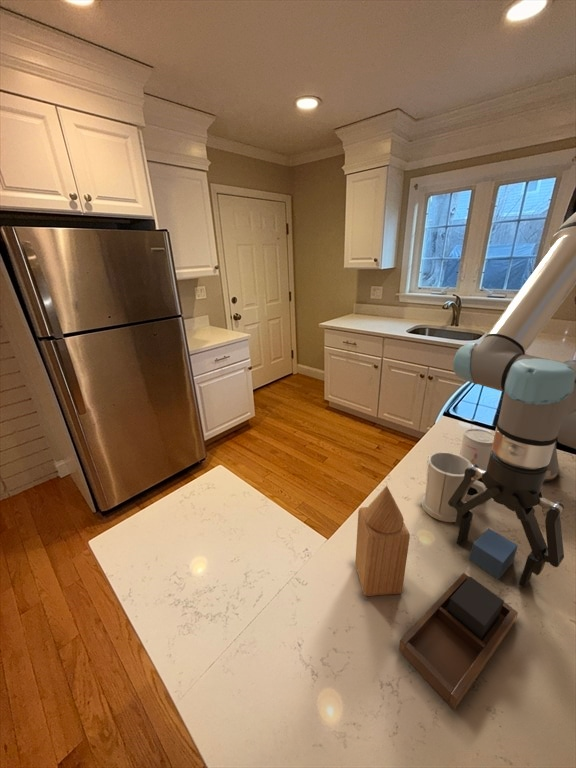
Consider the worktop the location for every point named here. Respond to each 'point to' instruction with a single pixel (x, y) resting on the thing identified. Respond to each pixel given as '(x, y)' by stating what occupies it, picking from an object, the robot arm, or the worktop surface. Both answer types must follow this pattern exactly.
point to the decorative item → (381, 546)
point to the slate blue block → (493, 553)
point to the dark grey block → (475, 607)
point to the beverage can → (477, 450)
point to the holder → (452, 647)
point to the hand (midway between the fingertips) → (491, 559)
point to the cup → (445, 484)
